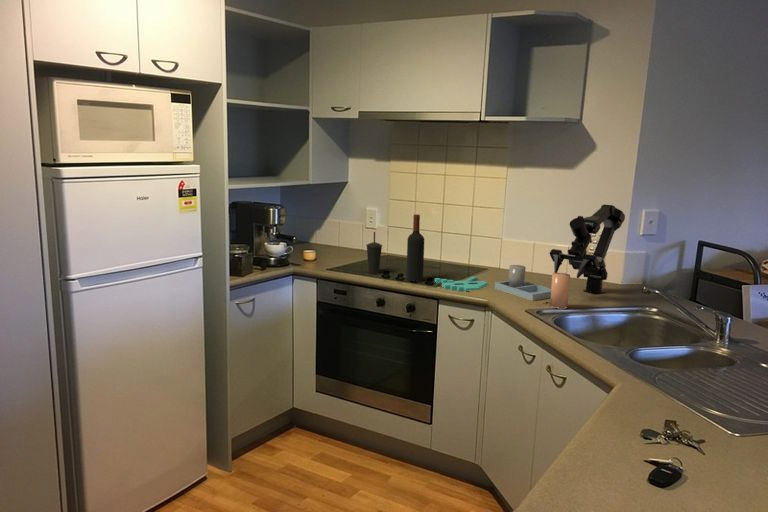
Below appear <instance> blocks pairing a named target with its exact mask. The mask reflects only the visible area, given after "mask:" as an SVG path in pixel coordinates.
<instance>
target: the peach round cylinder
mask: <svg viewBox="0 0 768 512" xmlns="http://www.w3.org/2000/svg"><path fill="white" fill-rule="evenodd" d="M570 280H571V275H570V274H569V273H566V272H565V273H564V272H557V273H554V272H553V273H552V275H551V298H549V299H550V300H549V301H550V302H549V307H550V306H553V307H559V308H565V307H567V306H569V305H568V304H569V294H570V293H569V292H570V283H571V282H570ZM567 308H568V307H567Z"/></svg>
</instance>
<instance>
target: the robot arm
mask: <svg viewBox="0 0 768 512" xmlns="http://www.w3.org/2000/svg"><path fill="white" fill-rule="evenodd" d="M625 219H626V215H625V213H624V212H623V211H622V210H621V209H619V208H617V207H616V206H615V205H614V204H602V205H601V207H600V208H599V209H598V210H596V211H595V213H592V215H591V216H585V217H584V216H583V215H578V216H577V217H575V218H573V219H572V220H570V221H569V227H570V230H571V232H572V235H573V236H574V237H575V238H574V240H573V241H571V243H570V245H571V247H570V248H569V249H568V250H567V253H563V251H562V249H556V248H553V249H551V250H550V251H549V253H548V254H549V257H550V258H551V261H552V262H553V263H554V269H553V270H554V271H553V273H559V269H560V267H561V266H562V265H563V262H564V260H568V264H569V266H572V269H573V270H576V271H577V273H576V278H577V279H579V278H580V277H581V276H582V275H583V278H586V286H585V289H582V291H583V292H586V293H589V294H593V295H598V294H603V293H605V290H603V282H604V281H607V280H608V279H607V278H608V275H609V273H608V271H607V269H606V262H605V258H606V255H607V253H608V250H609V248H610V247H609V246H610V244H611V242H612V239H613V237H614V234H615V232H616V231H617V230H619V229H620V228H621V226H622V225H623V223H624V221H625ZM602 224H603V228H602V230H601V225H602ZM600 230H601V234H600V235H599V239H598V241H597V243H596V247H595V248H594V251H593V254H591V253H590V254H589V253H588V251H587V249H588V247H589V245H590V244H592V243H593V240H592V234H593V235H596V234H598V232H599V231H600Z"/></svg>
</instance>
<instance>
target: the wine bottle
mask: <svg viewBox="0 0 768 512" xmlns="http://www.w3.org/2000/svg"><path fill="white" fill-rule="evenodd" d="M412 220H413V223H412V224H413V226H412V233H410V234H409V235H408V237H407V239H406V240H407V245H406V246H407V247H406V279H405V280H407V282H408V281H413V280H417V281H419V282H418V283H422V282H424V267H425V266H424V265H425V264H424V263H425V237H424V236H423V234H421V232H420V220H421V215H420V214H413V219H412Z"/></svg>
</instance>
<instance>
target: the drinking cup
mask: <svg viewBox="0 0 768 512" xmlns="http://www.w3.org/2000/svg"><path fill="white" fill-rule="evenodd" d="M382 248H383V244H381V243H379V242H376V231H373V242H369V243H367V244H366V254H367V256H366V257H367V267H368V270H367V271H368V274H369V273H370V275H378V273H379V274H380V265H381V257H382Z"/></svg>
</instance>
